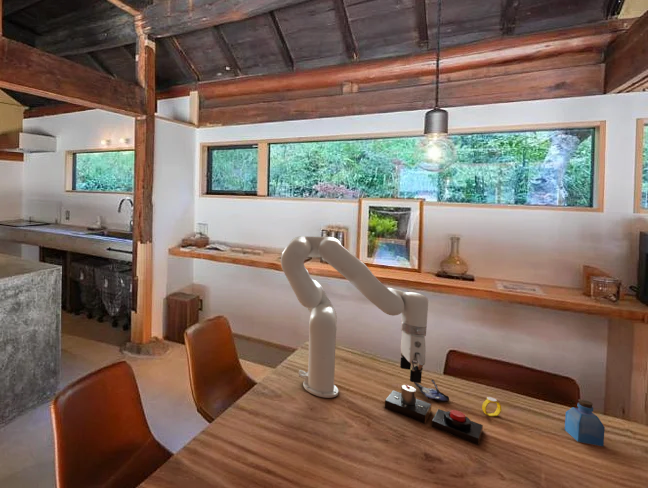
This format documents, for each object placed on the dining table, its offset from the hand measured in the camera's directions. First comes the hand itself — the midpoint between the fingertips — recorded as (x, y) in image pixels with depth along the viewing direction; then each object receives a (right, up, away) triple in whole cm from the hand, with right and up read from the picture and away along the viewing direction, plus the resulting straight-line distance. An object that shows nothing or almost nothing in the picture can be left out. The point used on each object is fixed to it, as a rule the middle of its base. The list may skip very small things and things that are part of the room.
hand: (410, 375), depth 139 cm
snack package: (+15, -13, +11) cm, 23 cm away
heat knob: (0, -10, +1) cm, 10 cm away
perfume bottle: (+48, -15, -13) cm, 52 cm away
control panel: (0, -13, +1) cm, 13 cm away
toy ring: (+28, -14, -1) cm, 31 cm away
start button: (+9, -10, -10) cm, 17 cm away
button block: (+9, -14, -9) cm, 19 cm away
